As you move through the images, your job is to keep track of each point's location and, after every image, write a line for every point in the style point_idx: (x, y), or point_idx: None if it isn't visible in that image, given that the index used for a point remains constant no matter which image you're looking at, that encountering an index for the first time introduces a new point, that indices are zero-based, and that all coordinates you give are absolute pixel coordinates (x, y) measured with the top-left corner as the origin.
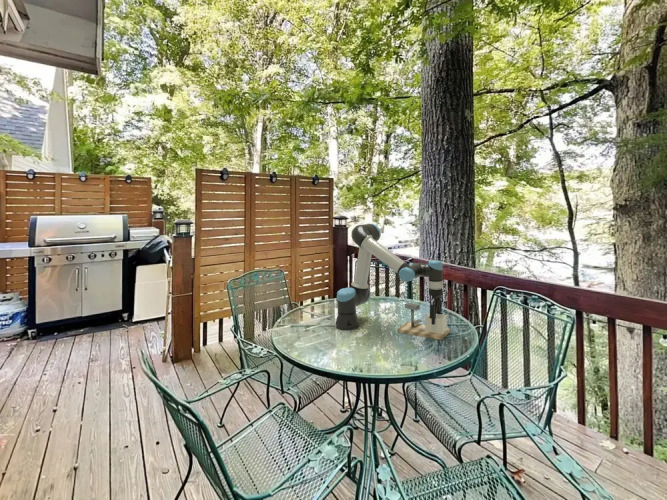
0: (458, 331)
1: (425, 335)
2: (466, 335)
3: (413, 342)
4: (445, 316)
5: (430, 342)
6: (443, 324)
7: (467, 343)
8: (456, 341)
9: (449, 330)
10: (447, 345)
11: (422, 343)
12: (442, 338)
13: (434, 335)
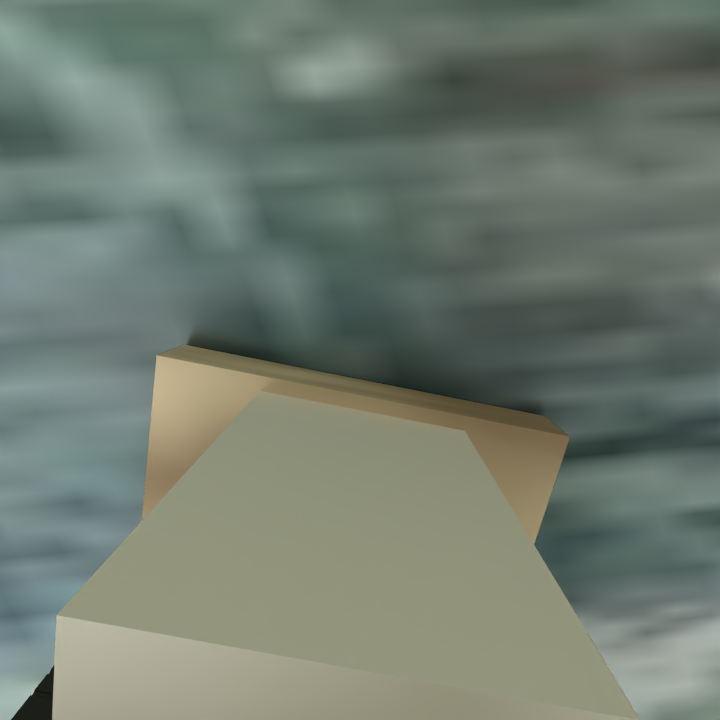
0: (89, 213)
1: None
2: (225, 69)
3: (666, 704)
4: (258, 642)
5: (635, 539)
6: (480, 523)
7: (585, 34)
8: (533, 215)
9: (171, 349)
10: (712, 329)
11: (683, 617)
12: (531, 418)
13: (532, 541)
